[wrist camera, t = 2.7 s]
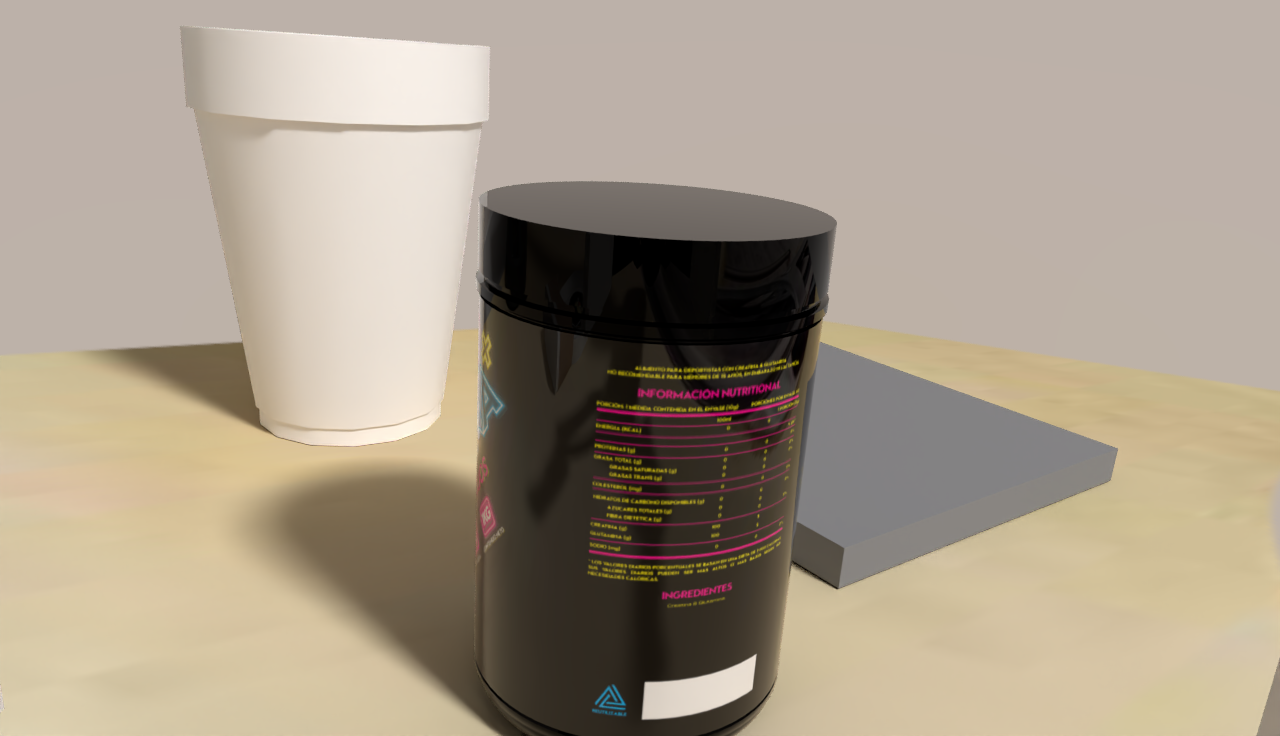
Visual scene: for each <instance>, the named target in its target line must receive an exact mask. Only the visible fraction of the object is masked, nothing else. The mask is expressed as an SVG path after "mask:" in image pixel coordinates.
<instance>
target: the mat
mask: <svg viewBox="0 0 1280 736" xmlns="http://www.w3.org/2000/svg"><path fill="white" fill-rule="evenodd" d="M1117 451H1118V449H1117V448H1115V447H1112V446H1109V445H1106V444H1103V443H1101V442H1098V441H1095V440H1092V439H1090V438H1087V437H1084V436H1081V435H1078V434H1076V433H1073V432H1070V431H1067V430H1064V429H1062V428H1059V427H1056V426H1053V425H1050V424H1048V423H1045V422H1042V421H1039V420H1037V419H1034V418H1031V417H1028V416H1025V415H1023V414H1020V413H1017V412H1014V411H1011V410H1009V409H1006V408H1003V407H1000V406H997V405H995V404H992V403H989V402H986V401H984V400H981V399H978V398H975V397H972V396H970V395H967V394H964V393H961V392H958V391H956V390H953V389H950V388H947V387H944V386H942V385H939V384H936V383H933V382H931V381H928V380H925V379H922V378H919V377H917V376H914V375H911V374H908V373H905V372H903V371H900V370H897V369H894V368H891V367H889V366H886V365H883V364H880V363H878V362H875V361H872V360H869V359H866V358H864V357H861V356H858V355H855V354H852V353H850V352H847V351H844V350H841V349H838V348H836V347H833V346H830V345H827V344H825V343H822V342H820V345H819V353H818V360H817V368H816V376H815V384H814V392H813V399H812V407H811V415H810V423H809V431H808V439H807V446H806V454H805V462H804V470H803V478H802V485H801V493H800V501H799V509H798V517H797V524H796V532H795V540H794V548H793V556H792V561H794V562H796V563H797V564H799V565H801V566H802V567H804V568H805V569H807V570H809V571H810V572H812V573H814V574H815V575H817V576H819V577H820V578H822V579H824V580H825V581H827V582H829V583H830V584H832V585H834V586H835V587H837V588H841V587H844V586H846V585H849V584H851V583H854V582H856V581H859V580H861V579H864V578H866V577H869V576H871V575H874V574H876V573H879V572H881V571H884V570H886V569H889V568H891V567H894V566H897V565H899V564H902V563H904V562H907V561H909V560H912V559H914V558H917V557H919V556H922V555H924V554H927V553H929V552H932V551H934V550H937V549H939V548H942V547H944V546H947V545H949V544H952V543H954V542H957V541H959V540H962V539H964V538H967V537H969V536H972V535H975V534H977V533H980V532H982V531H985V530H987V529H990V528H992V527H995V526H997V525H1000V524H1002V523H1005V522H1007V521H1010V520H1012V519H1015V518H1017V517H1020V516H1022V515H1025V514H1027V513H1030V512H1032V511H1035V510H1037V509H1040V508H1042V507H1045V506H1047V505H1050V504H1052V503H1055V502H1058V501H1060V500H1063V499H1065V498H1068V497H1070V496H1073V495H1075V494H1078V493H1080V492H1083V491H1085V490H1088V489H1090V488H1093V487H1095V486H1098V485H1100V484H1103V483H1105V482H1108V481H1110V480H1111V476H1112V472H1113V468H1114V464H1115V459H1116V455H1117Z"/></svg>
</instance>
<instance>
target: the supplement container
mask: <svg viewBox="0 0 1280 736" xmlns="http://www.w3.org/2000/svg"><path fill="white" fill-rule="evenodd" d="M478 223H479V224H478V271H477V273H476V288H477V291H478V292H479V343H478V412H477V482H476V552H475V622H474V661H475V667H476V670H477V673H478V676H479V678H480V680H481V682H482V685H483V687H484V689H485V691H486V693H487V695H488V697H489V698H490V700H491V701H492V703H493V704H494V705H495V707H496V708H497V709H498V710H499V711H500V712H501V714H502V715H503V716H504V717H505V718H506V719H507V720H508V721H510V722H511V723H512V724H513V725H514V726H515V727H517V728H518V729H519V730H521V731H522V732H523V733H525V734H526V735H528V736H736V735H737V734H738V733H740V732H741V731H742V730H744V729H745V728H746V727H747V726H748V725H749V724H750V723H751V722H752V721H753V720H754V719H755V718H756V716H757V715H758V714H759V712H760V711H761V710H762V708H763V707H764V705H765V703H766V702H767V700H768V699H769V697H770V695H771V693H772V692H773V690H774V686H775V683H776V680H777V673H778V665H779V657H780V649H781V642H782V634H783V626H784V618H785V610H786V603H787V595H788V587H789V579H790V571H791V564H792V556H793V548H794V540H795V532H796V524H797V517H798V509H799V501H800V493H801V485H802V478H803V470H804V462H805V454H806V446H807V439H808V431H809V423H810V415H811V407H812V399H813V392H814V384H815V376H816V368H817V360H818V353H819V345H820V337H821V329H822V321H823V317H824V316H825V314H826V313H827V308H828V301H829V298H828V294H827V292H828V287H829V279H830V272H831V264H832V257H833V249H834V241H835V233H836V225H837V222H836V220H835V219H834V218H833V217H831V216H829V215H828V214H826V213H824V212H822V211H819V210H816V209H813V208H810V207H807V206H804V205H800V204H796V203H792V202H788V201H783V200H779V199H774V198H769V197H763V196H758V195H751V194H745V193H738V192H731V191H723V190H715V189H707V188H697V187H688V186H676V185H663V184H648V183H629V182H583V181H581V182H580V181H579V182H546V183H531V184H521V185H513V186H506V187H501V188H497V189H493V190H490V191H487V192H485V193H484V194H482V195H481V196H480V197H479V222H478Z"/></svg>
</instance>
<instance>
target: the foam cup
mask: <svg viewBox="0 0 1280 736" xmlns="http://www.w3.org/2000/svg"><path fill="white" fill-rule="evenodd" d="M180 29H181V41H182V42H181V43H182V55H183V68H184V82H185V94H186V106H187V107H190V108H194V112H195V117H196V122H197V126H198V131H199V136H200V141H201V145H202V150H203V155H204V160H205V165H206V169H207V174H208V179H209V183H210V188H211V193H212V198H213V203H214V208H215V212H216V217H217V222H218V226H219V232H220V236H221V241H222V246H223V250H224V255H225V260H226V265H227V269H228V274H229V279H230V284H231V289H232V294H233V299H234V303H235V308H236V313H237V318H238V322H239V327H240V332H241V337H242V342H243V346H244V351H245V356H246V361H247V366H248V370H249V375H250V380H251V385H252V389H253V394H254V399H255V404H256V407H257V408H258V409H259V412H260V424H261V425H262V426H264V427H265V428H266V429H268V430H269V431H270V432H271V433H273V434H274V435H275V436H277V437H280V438H284V439H288V440H292V441H296V442H301V443H305V444H309V445H324V446H361V445H369V444H376V443H383V442H390V441H397V440H399V439H402V438H405V437H408V436H410V435H413V434H416V433H419V432H421V431H424V430H427V429H428V428H429V427H430V426H431V425H432V424H433V423H434V422H435V421H436V420H437V419H438V418H439V417H440V416H441V401H442V400H443V398H444V391H445V384H446V377H447V370H448V363H449V356H450V348H451V341H452V334H453V327H454V320H455V313H456V306H457V299H458V292H459V285H460V278H461V270H462V263H463V256H464V249H465V242H466V235H467V227H468V220H469V214H470V207H471V200H472V192H473V185H474V178H475V171H476V164H477V157H478V150H479V142H480V136H481V129H482V122H483V121H487V120H489V70H490V68H489V67H490V47H487V46H474V45H461V44H447V43H433V42H419V41H404V40H390V39H374V38H361V37H346V36H330V35H316V34H300V33H285V32H271V31H255V30H240V29H225V28H209V27H192V26H180Z"/></svg>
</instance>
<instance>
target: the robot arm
mask: <svg viewBox="0 0 1280 736" xmlns="http://www.w3.org/2000/svg"><path fill="white" fill-rule="evenodd" d="M2 710H4V704H3V698H2V692H1V686H0V712H1V711H2ZM1257 736H1280V659H1279V662H1278V666H1277V669H1276V672H1275V676H1274V679H1273V682H1272V686H1271V689H1270V692H1269V696H1268V699H1267V702H1266V706H1265V709H1264V712H1263V716H1262V719H1261V723H1260V726H1259V729H1258V733H1257Z"/></svg>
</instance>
